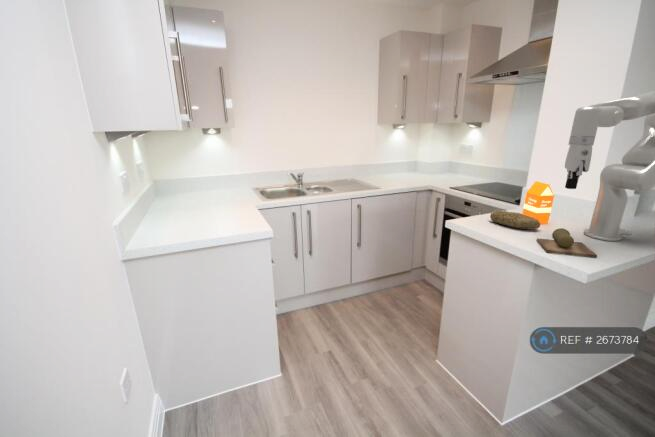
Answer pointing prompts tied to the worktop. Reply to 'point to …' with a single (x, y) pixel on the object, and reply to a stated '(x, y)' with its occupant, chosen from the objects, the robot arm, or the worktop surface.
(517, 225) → the sponge
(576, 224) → the worktop surface
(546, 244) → the walnut board
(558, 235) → the cork
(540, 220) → the orange juice
